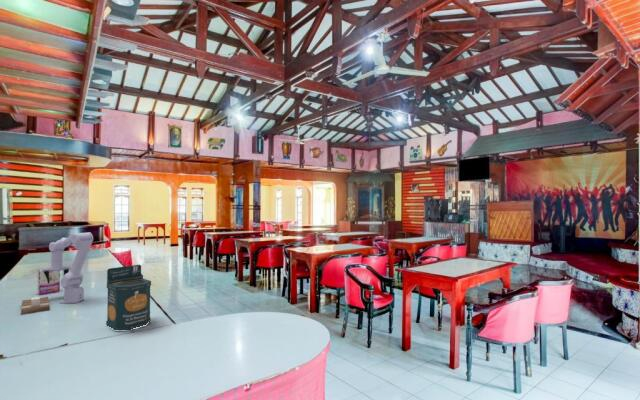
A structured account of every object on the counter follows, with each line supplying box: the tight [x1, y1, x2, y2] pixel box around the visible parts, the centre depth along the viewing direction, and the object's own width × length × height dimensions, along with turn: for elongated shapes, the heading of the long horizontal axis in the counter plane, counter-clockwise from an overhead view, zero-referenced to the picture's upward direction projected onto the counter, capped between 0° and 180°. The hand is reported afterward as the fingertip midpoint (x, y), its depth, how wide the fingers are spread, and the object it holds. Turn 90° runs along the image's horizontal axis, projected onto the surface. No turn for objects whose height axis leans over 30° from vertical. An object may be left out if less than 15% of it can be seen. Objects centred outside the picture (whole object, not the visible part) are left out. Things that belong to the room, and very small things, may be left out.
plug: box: [30, 296, 41, 307], centre depth 190 cm, size 4×4×6 cm
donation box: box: [105, 264, 152, 331], centre depth 166 cm, size 16×16×28 cm
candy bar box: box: [37, 268, 61, 296], centre depth 226 cm, size 11×5×16 cm, turn 143°
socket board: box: [20, 296, 51, 316], centre depth 194 cm, size 24×12×2 cm, turn 41°
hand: (56, 282), depth 212 cm, fingers open, 7 cm apart
